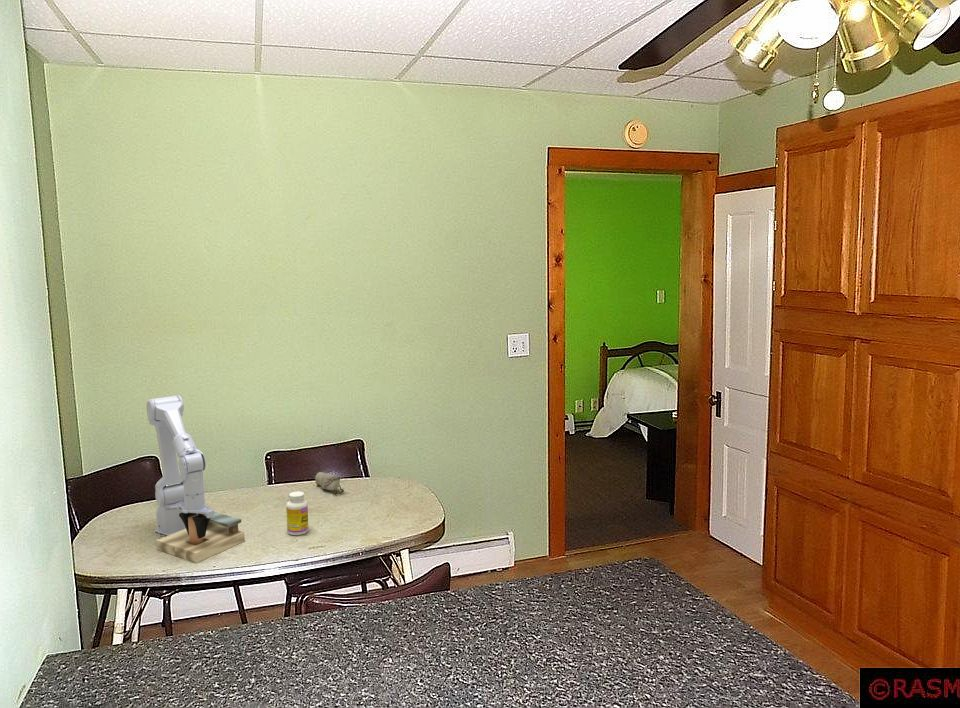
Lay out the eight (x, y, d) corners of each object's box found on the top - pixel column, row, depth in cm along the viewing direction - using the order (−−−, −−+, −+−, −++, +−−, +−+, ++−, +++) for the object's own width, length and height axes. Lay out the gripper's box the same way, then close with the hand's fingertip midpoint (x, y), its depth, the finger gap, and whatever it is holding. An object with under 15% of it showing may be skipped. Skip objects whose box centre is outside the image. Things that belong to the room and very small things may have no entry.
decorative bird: (323, 483, 284) (322, 465, 283) (346, 494, 273) (346, 474, 272) (311, 487, 281) (310, 468, 279) (334, 497, 269) (333, 478, 268)
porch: (157, 549, 225) (155, 527, 223) (206, 529, 240) (204, 509, 239) (196, 562, 215) (194, 540, 214) (244, 541, 231) (243, 519, 230)
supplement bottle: (303, 536, 234) (301, 498, 232) (283, 535, 235) (282, 496, 233) (312, 528, 241) (310, 491, 239) (293, 527, 242) (291, 489, 240)
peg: (186, 542, 223) (185, 517, 222) (198, 538, 226) (196, 513, 225) (194, 546, 221) (193, 520, 219) (206, 541, 224) (204, 516, 223)
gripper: (166, 492, 221) (169, 535, 224) (198, 501, 214) (201, 545, 216) (186, 485, 227) (189, 527, 230) (218, 493, 220) (221, 537, 222)
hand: (196, 535), depth 223 cm, fingers closed on peg, 4 cm apart
